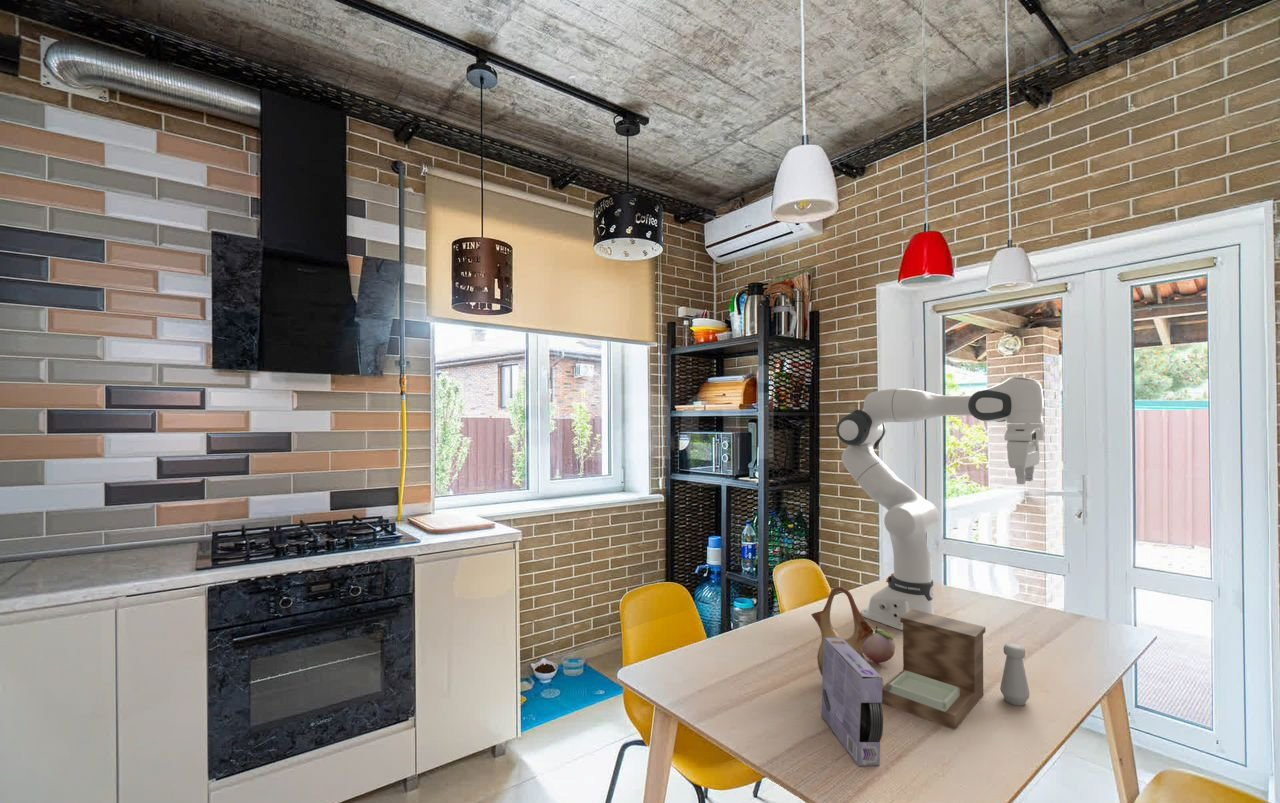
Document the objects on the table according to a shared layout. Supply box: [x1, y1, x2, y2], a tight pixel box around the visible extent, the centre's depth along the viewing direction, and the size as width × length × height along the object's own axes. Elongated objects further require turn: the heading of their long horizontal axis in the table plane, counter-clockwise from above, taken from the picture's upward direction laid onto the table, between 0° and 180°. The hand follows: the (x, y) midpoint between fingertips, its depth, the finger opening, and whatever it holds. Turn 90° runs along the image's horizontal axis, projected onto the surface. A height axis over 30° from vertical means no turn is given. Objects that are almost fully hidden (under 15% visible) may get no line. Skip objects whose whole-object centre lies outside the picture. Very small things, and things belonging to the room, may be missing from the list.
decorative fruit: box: [862, 625, 896, 664], centre depth 152 cm, size 9×8×10 cm
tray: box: [889, 670, 960, 712], centre depth 130 cm, size 12×10×2 cm
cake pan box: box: [820, 638, 884, 767], centre depth 116 cm, size 19×5×18 cm, turn 5°
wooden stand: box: [881, 609, 986, 730], centre depth 134 cm, size 17×22×16 cm
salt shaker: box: [999, 642, 1031, 707], centre depth 132 cm, size 6×6×13 cm
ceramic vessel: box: [811, 586, 875, 678], centre depth 138 cm, size 16×9×25 cm, turn 40°
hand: (1025, 482), depth 160 cm, fingers open, 8 cm apart
